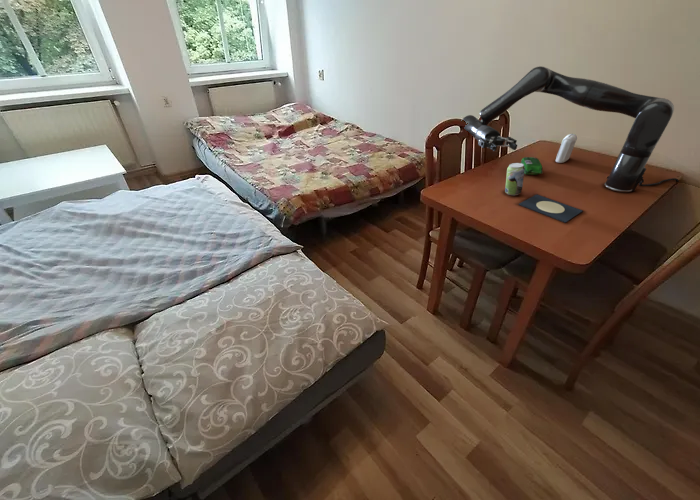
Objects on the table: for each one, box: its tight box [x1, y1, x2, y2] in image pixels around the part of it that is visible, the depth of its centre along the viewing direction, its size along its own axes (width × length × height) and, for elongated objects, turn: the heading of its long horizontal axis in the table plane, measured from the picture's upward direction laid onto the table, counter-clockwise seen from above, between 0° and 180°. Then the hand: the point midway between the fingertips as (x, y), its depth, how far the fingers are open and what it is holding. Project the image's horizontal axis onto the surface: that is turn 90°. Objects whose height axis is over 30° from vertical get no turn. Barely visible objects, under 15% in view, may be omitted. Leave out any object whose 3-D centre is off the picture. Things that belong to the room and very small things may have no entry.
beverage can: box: [504, 162, 525, 196], centre depth 126 cm, size 6×7×12 cm
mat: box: [518, 193, 584, 224], centre depth 119 cm, size 17×13×1 cm
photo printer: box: [555, 133, 578, 164], centre depth 155 cm, size 10×4×12 cm, turn 134°
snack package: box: [520, 156, 544, 176], centre depth 146 cm, size 7×16×5 cm, turn 165°
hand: (505, 148), depth 130 cm, fingers open, 8 cm apart
